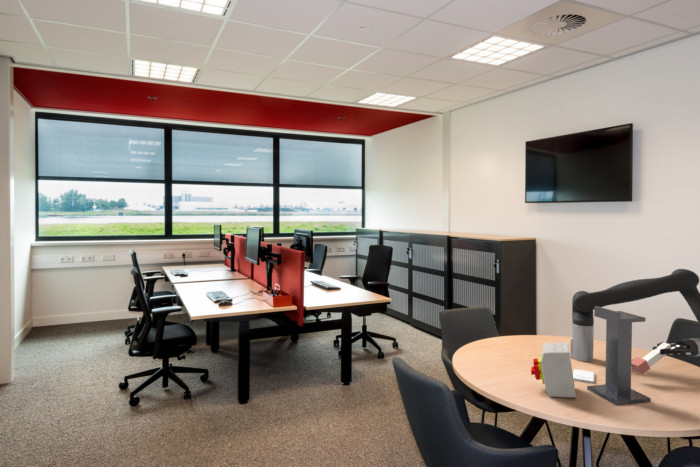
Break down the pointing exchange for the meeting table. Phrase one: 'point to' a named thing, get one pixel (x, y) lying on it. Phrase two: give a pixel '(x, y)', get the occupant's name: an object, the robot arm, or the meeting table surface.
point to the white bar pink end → (648, 359)
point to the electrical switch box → (555, 370)
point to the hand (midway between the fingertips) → (657, 350)
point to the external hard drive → (583, 376)
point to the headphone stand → (618, 358)
